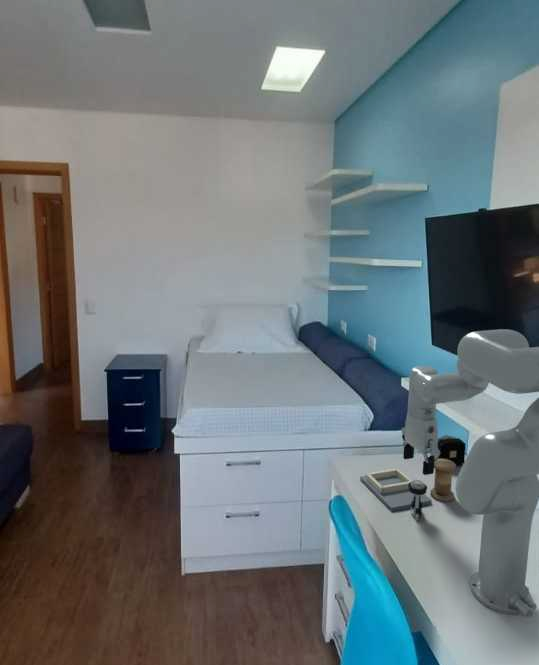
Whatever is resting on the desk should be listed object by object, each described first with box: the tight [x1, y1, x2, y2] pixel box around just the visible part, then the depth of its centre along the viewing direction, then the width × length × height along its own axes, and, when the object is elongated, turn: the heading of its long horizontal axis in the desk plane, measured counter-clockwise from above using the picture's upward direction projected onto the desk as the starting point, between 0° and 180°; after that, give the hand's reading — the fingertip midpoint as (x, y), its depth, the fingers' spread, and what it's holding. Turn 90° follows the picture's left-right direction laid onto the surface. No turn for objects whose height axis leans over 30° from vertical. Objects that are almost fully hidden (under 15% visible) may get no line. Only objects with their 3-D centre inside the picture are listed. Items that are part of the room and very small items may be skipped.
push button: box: [408, 479, 428, 521], centre depth 137 cm, size 7×5×10 cm
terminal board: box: [359, 468, 432, 512], centre depth 151 cm, size 20×14×3 cm
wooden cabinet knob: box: [430, 459, 457, 503], centre depth 147 cm, size 7×7×11 cm
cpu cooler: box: [437, 434, 466, 467], centre depth 169 cm, size 10×6×10 cm, turn 97°
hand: (417, 465), depth 136 cm, fingers open, 9 cm apart
